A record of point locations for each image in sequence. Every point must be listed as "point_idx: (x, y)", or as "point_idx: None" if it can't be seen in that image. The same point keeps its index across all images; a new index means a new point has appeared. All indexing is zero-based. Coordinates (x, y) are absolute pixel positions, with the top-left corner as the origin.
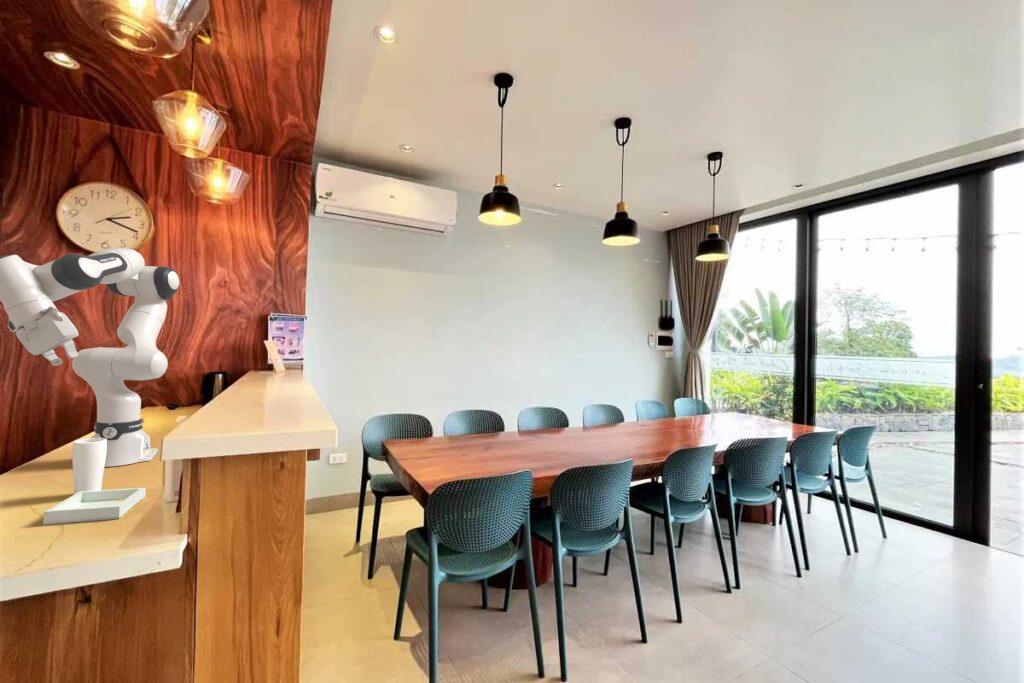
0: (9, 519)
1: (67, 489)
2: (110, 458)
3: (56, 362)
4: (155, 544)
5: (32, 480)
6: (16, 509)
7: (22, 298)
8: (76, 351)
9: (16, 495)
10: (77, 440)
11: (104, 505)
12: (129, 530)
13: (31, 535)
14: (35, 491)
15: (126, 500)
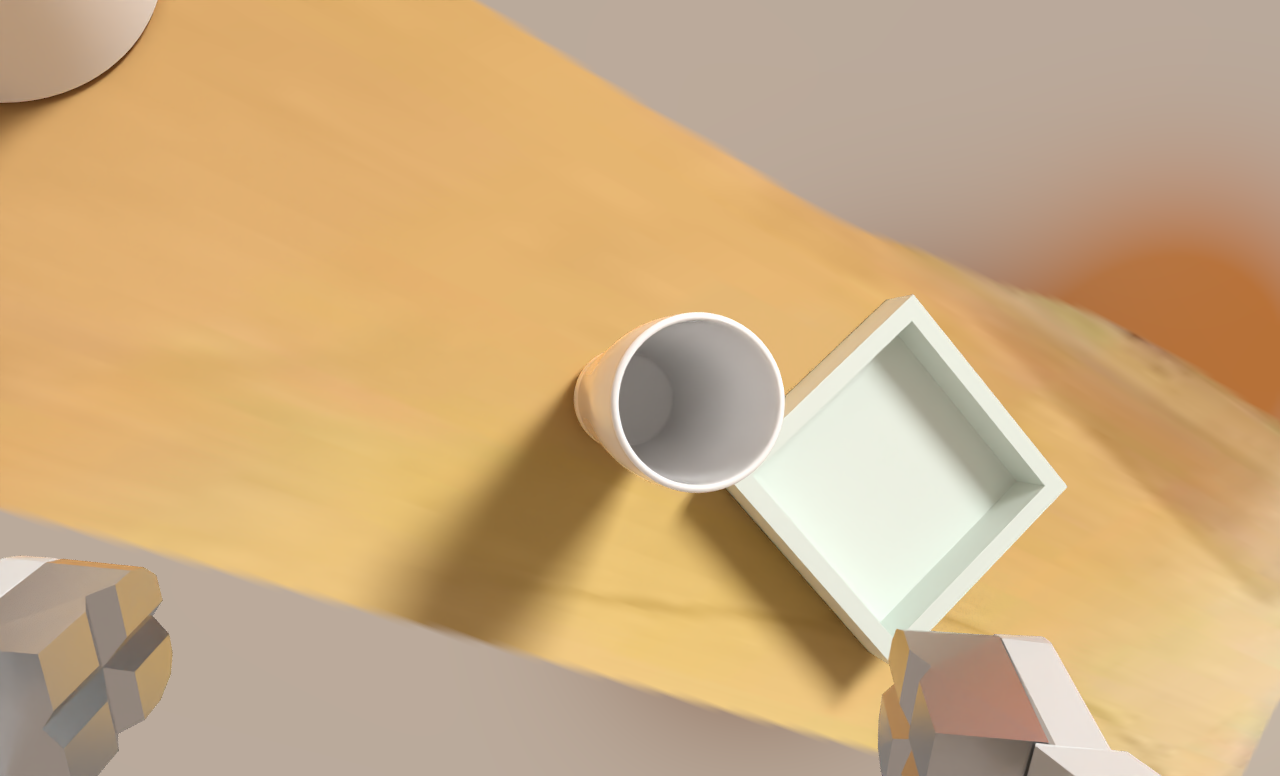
0: (693, 697)
1: (429, 400)
2: (88, 25)
3: (123, 688)
4: None
5: (50, 417)
6: (573, 641)
7: None
8: (1085, 707)
9: (324, 568)
10: (631, 448)
11: (861, 444)
12: (1162, 516)
13: None
14: (326, 495)
15: (1020, 435)
